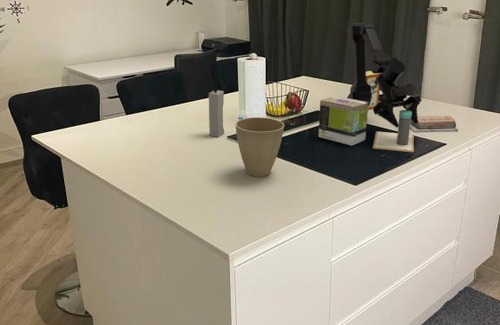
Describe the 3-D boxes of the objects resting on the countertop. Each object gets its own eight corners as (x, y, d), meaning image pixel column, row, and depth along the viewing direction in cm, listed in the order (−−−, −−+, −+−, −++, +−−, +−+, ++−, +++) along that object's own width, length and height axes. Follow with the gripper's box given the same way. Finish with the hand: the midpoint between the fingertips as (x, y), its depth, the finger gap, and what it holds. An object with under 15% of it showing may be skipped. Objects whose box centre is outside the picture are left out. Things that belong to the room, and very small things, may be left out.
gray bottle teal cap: (396, 144, 190) (399, 112, 186) (396, 141, 194) (399, 109, 190) (408, 146, 189) (411, 113, 185) (408, 142, 193) (411, 110, 189)
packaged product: (448, 113, 215) (459, 120, 206) (446, 124, 217) (458, 132, 208) (405, 114, 214) (415, 121, 205) (404, 125, 216) (413, 133, 206)
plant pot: (246, 184, 158) (246, 134, 152) (228, 167, 170) (228, 120, 165) (290, 177, 163) (292, 128, 158) (270, 161, 176) (271, 115, 170)
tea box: (366, 140, 197) (369, 101, 192) (351, 146, 190) (354, 107, 185) (332, 131, 207) (335, 94, 201) (317, 137, 200) (319, 99, 194)
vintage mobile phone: (224, 133, 202) (223, 69, 193) (218, 137, 198) (217, 71, 189) (215, 132, 204) (214, 68, 195) (209, 136, 200) (208, 70, 191)
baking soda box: (367, 104, 244) (370, 70, 238) (377, 107, 239) (381, 72, 233) (352, 107, 239) (355, 72, 233) (363, 110, 234) (366, 75, 228)
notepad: (372, 148, 189) (372, 146, 188) (376, 132, 206) (376, 130, 205) (413, 152, 185) (413, 150, 185) (413, 135, 202) (413, 134, 202)
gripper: (381, 78, 182) (401, 117, 177) (421, 73, 190) (440, 110, 185) (364, 95, 191) (382, 133, 186) (403, 89, 199) (421, 125, 195)
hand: (407, 125), depth 188 cm, fingers open, 9 cm apart
